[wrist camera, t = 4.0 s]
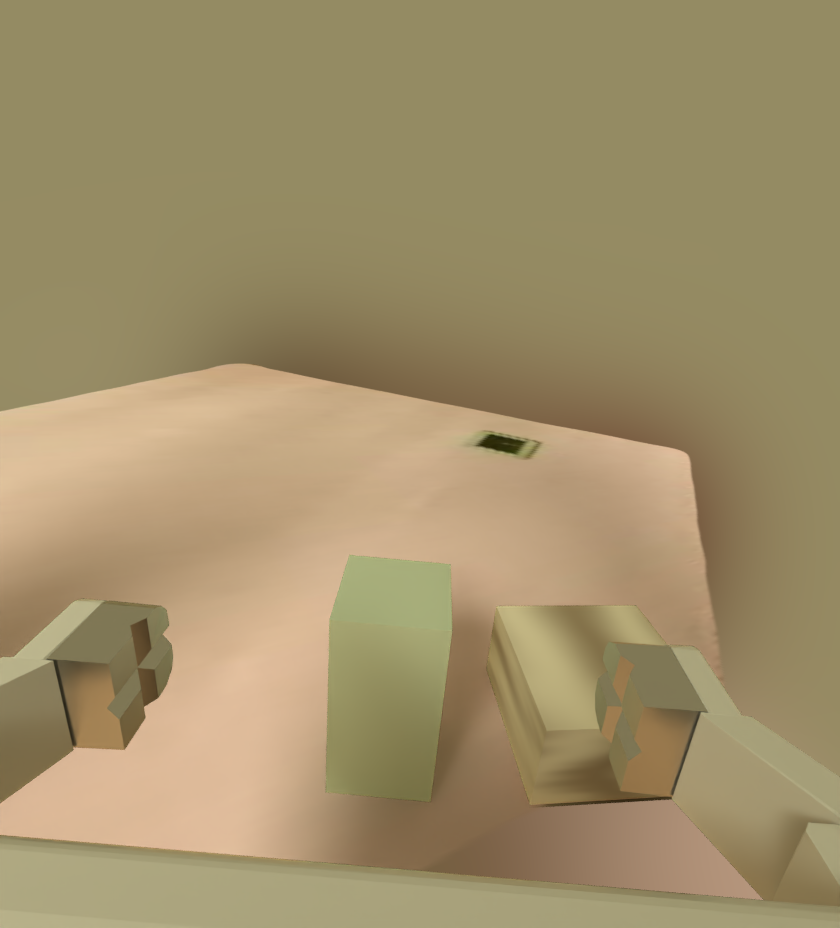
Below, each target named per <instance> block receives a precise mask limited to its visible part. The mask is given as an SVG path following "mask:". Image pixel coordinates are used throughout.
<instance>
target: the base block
mask: <svg viewBox="0 0 840 928" xmlns="http://www.w3.org/2000/svg"><path fill="white" fill-rule="evenodd" d="M609 641H611V642H624V643H638V644H652V645H667V644H666V642H665V641H664V640H663V639H662V637H661V636H660V635H659V634H658V632H657V631H656V630H655V629H654V627H653V626H652V625H651V624H650V622H649V621H648V620H647V619H646V617H645V616H644V615H643V613H642V612H641V611H640V610H639V608H638V607H637V606H636V605H605V606H496V612H495V618H494V624H493V630H492V636H491V642H490V648H489V654H488V661H487V667H486V669H487V672H488V675H489V679H490V682H491V685H492V688H493V691H494V694H495V697H496V700H497V704H498V707H499V710H500V713H501V716H502V719H503V722H504V726H505V729H506V732H507V735H508V738H509V741H510V744H511V747H512V751H513V754H514V757H515V760H516V763H517V766H518V769H519V773H520V776H521V779H522V782H523V785H524V788H525V791H526V794H527V798H528V801H529V804H530V805H536V804H543V805H541V806H539V807H555V806H572V805H588V804H605V803H622V802H638V801H654V800H672V797H670V796H661V795H652V794H643V793H634V792H625V791H620V788H619V785H618V782H617V780H616V777H615V774H614V771H613V768H612V765H611V762H610V759H609V751H610V747H611V742H609V741H608V740H607V739H606V738H605V737H604V736H603V735H602V734H601V732H600V729H599V725H598V722H597V717H596V711H595V691H596V686H597V681H598V678H599V677H601V676H602V675H603V674H604V673H605V672H606V671H607V669H606V667H605V664H604V662H603V655H604V651H605V648H606V646H607V644H608V643H609ZM537 808H538V807H537Z"/></svg>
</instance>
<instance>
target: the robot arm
mask: <svg viewBox="0 0 840 928" xmlns="http://www.w3.org/2000/svg"><path fill="white" fill-rule="evenodd" d="M168 626H169V621H168V615H167V610H166V609H165V608H163V607H162V606H157V605H147V604H137V603H128V602H118V601H105V600H94V599H80V600H76V601H74V602H73V603H72V604H70V605H69V606H68V607H67V608H66V609H65V610H64V611H63V612H62V613H61V614H60V615H58V616H57V617H56V618H55V619H54V620H53V621H52V622H51V623H50V624H49V625H48V626H46V627H45V628H44V629H43V630H42V631H41V632H40V633H39V634H38V635H37V636H36V637H35V638H33V639H32V640H31V641H30V642H29V643H28V644H27V645H26V646H25V647H24V648H23V649H21V650H20V651H19V652H18V653H17V654H16V655H15V656H14V657H2V658H0V803H1V802H3V801H4V800H5V799H7V798H8V797H9V796H11V795H12V794H14V793H15V792H16V791H18V790H19V789H21V788H22V787H23V786H25V785H26V784H27V783H29V782H30V781H32V780H33V779H34V778H36V777H37V776H39V775H40V774H41V773H43V772H44V771H45V770H47V769H48V768H50V767H51V766H52V765H54V764H55V763H57V762H58V761H59V760H61V759H62V758H63V757H65V756H66V755H68V754H69V753H70V752H72V751H73V750H74V749H73V747H77V748H96V749H116V750H125V748H126V747H127V745H128V744H129V742H130V741H131V739H132V738H133V736H134V735H135V733H136V732H137V730H138V729H139V727H140V726H141V724H142V723H143V721H144V719H145V711H144V706H146V705H148V704H149V703H151V702H153V701H154V700H156V699H157V698H159V696H160V695H161V693H162V691H163V690H164V688H165V687H166V685H167V682H168V679H169V676H170V673H171V670H172V661H173V652H172V645H171V643H170V642H169V641H168V640H167V639H166V638H165V637H164V636H163V633H164V631H165V630H166V629H167V627H168ZM603 662H604V664H605V667H606V669H607V671H606V672H605V673H604V674H603V675H602V676H601V677H599V678H598V681H597V686H596V691H595V711H596V717H597V722H598V725H599V729H600V732H601V734H602V735H603V736H604V737H605V738H606V739H607V740H608V741H609V742H611V747H610V751H609V759H610V762H611V765H612V768H613V771H614V774H615V777H616V780H617V782H618V785H619V788H620V791H625V792H634V793H643V794H652V795H661V796H670V797H672V800H673V801H674V802H675V803H676V804H677V805H678V807H679V808H680V809H681V810H682V811H683V812H684V813H685V814H686V815H687V816H688V818H689V819H690V820H691V821H692V822H693V823H694V824H695V825H696V826H697V827H698V829H699V830H700V831H701V832H702V833H703V834H704V835H705V836H706V837H707V838H708V839H709V840H710V842H711V843H712V844H713V845H714V846H715V847H716V848H717V849H718V850H719V851H720V853H721V854H722V855H723V856H724V857H725V858H726V859H727V860H728V861H729V862H730V864H731V865H732V866H733V867H734V868H735V869H736V870H737V871H738V872H739V873H740V874H741V875H742V877H743V878H744V879H745V880H746V881H747V882H748V883H749V884H750V885H751V887H752V888H753V889H754V890H755V891H756V892H757V893H758V894H759V895H760V896H761V897H762V899H763V900H755V899H743V898H732V897H720V896H708V895H696V894H685V893H673V892H661V891H649V890H639V889H627V888H616V887H603V886H592V885H581V884H569V883H557V882H545V881H533V880H522V879H510V878H499V877H487V876H474V875H463V874H451V873H440V872H428V871H417V870H405V869H393V868H382V867H370V866H358V865H347V864H335V863H323V862H312V861H300V860H288V859H276V858H265V857H253V856H241V855H230V854H218V853H206V852H195V851H183V850H171V849H159V848H148V847H136V846H124V845H113V844H101V843H89V842H77V841H66V840H54V839H42V838H30V837H19V836H7V835H0V928H840V777H839V776H838V775H837V774H835V773H833V772H832V771H831V770H829V769H827V768H826V767H825V766H823V765H822V764H820V763H819V762H817V761H816V760H814V759H813V758H812V757H810V756H809V755H807V754H806V753H804V752H803V751H801V750H800V749H798V748H797V747H795V746H794V745H792V744H791V743H790V742H788V741H787V740H785V739H784V738H782V737H781V736H779V735H778V734H776V733H775V732H773V731H772V730H771V729H769V728H768V727H766V726H764V725H763V724H762V723H760V722H758V721H757V720H756V719H754V718H753V717H750V716H742V714H741V713H740V711H739V710H738V708H737V707H736V705H735V704H734V702H733V701H732V699H731V698H730V696H729V695H728V693H727V692H726V690H725V689H724V687H723V686H722V684H721V682H720V681H719V679H718V678H717V676H716V675H715V673H714V672H713V670H712V669H711V667H710V666H709V664H708V663H707V661H706V660H705V658H704V657H703V655H702V654H701V652H700V651H699V650H698V649H697V648H695V647H694V646H683V645H652V644H638V643H624V642H611V641H609V643H608V644H607V646H606V648H605V651H604V655H603Z"/></svg>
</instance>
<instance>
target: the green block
mask: <svg viewBox="0 0 840 928" xmlns="http://www.w3.org/2000/svg"><path fill="white" fill-rule="evenodd" d="M451 638H452V599H451V564H442V563H431V562H421V561H410V560H399V559H388V558H377V557H366V556H355V555H349V558H348V561H347V564H346V568H345V571H344V574H343V577H342V581H341V584H340V587H339V590H338V594H337V597H336V600H335V603H334V607H333V610H332V613H331V616H330V620H329V663H328V708H327V753H326V792H328V793H339V794H350V795H360V796H371V797H382V798H392V799H403V800H414V801H424V802H431V795H432V787H433V779H434V771H435V763H436V756H437V748H438V740H439V732H440V724H441V716H442V708H443V700H444V693H445V685H446V677H447V669H448V661H449V653H450V645H451Z"/></svg>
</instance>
